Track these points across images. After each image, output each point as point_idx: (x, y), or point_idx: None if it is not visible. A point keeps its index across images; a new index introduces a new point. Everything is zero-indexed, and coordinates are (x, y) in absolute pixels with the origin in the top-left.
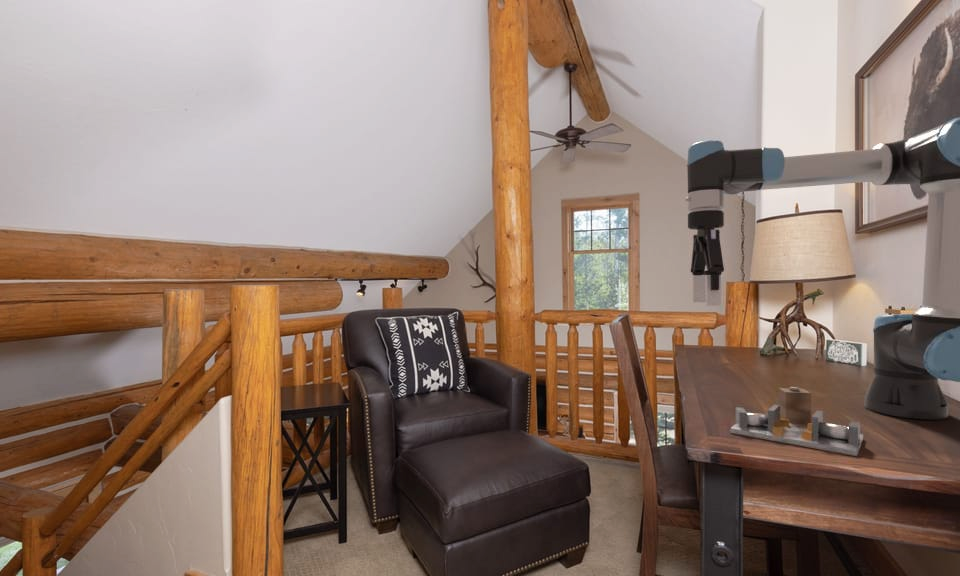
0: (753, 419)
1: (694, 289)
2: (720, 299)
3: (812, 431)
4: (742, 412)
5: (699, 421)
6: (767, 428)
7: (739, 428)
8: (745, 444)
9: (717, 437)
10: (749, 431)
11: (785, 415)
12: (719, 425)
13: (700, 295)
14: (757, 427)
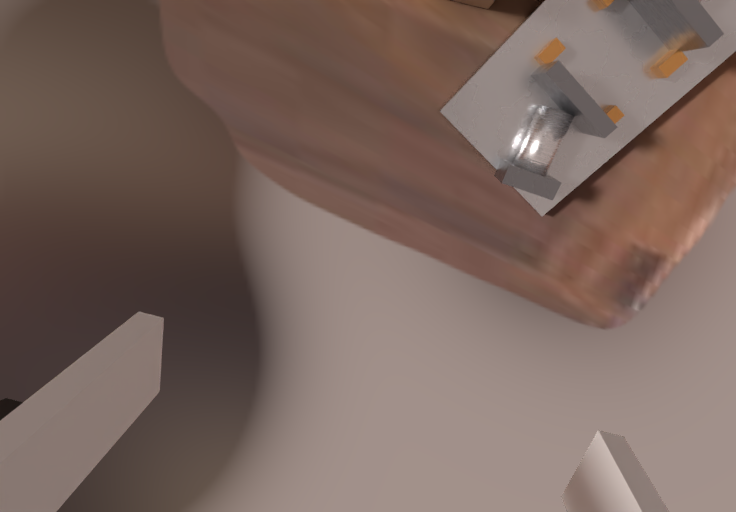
0: (554, 157)
1: (89, 467)
2: (647, 477)
3: (683, 50)
4: (555, 193)
5: (427, 234)
6: None
7: None
8: (615, 219)
9: (555, 254)
10: (577, 185)
11: (490, 3)
12: (467, 202)
13: (126, 384)
14: None
